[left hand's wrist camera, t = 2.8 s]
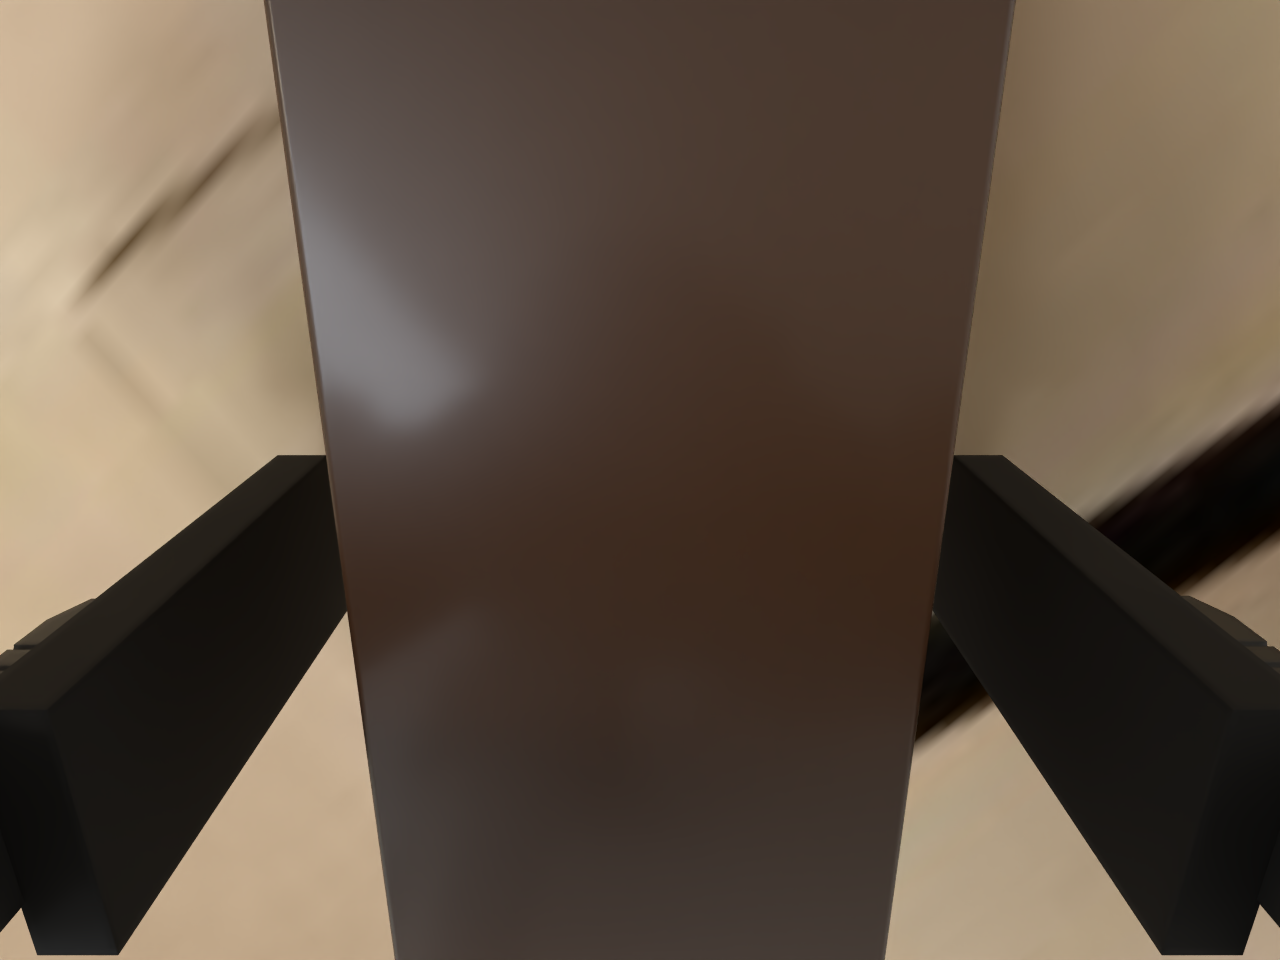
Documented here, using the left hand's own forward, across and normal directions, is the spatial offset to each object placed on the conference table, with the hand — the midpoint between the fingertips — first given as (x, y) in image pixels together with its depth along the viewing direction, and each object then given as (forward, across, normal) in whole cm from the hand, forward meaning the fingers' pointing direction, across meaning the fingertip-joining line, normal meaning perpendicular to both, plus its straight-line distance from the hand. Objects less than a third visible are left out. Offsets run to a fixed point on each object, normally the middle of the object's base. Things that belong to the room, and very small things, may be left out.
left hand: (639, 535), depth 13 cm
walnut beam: (+1, 0, -8) cm, 9 cm away
